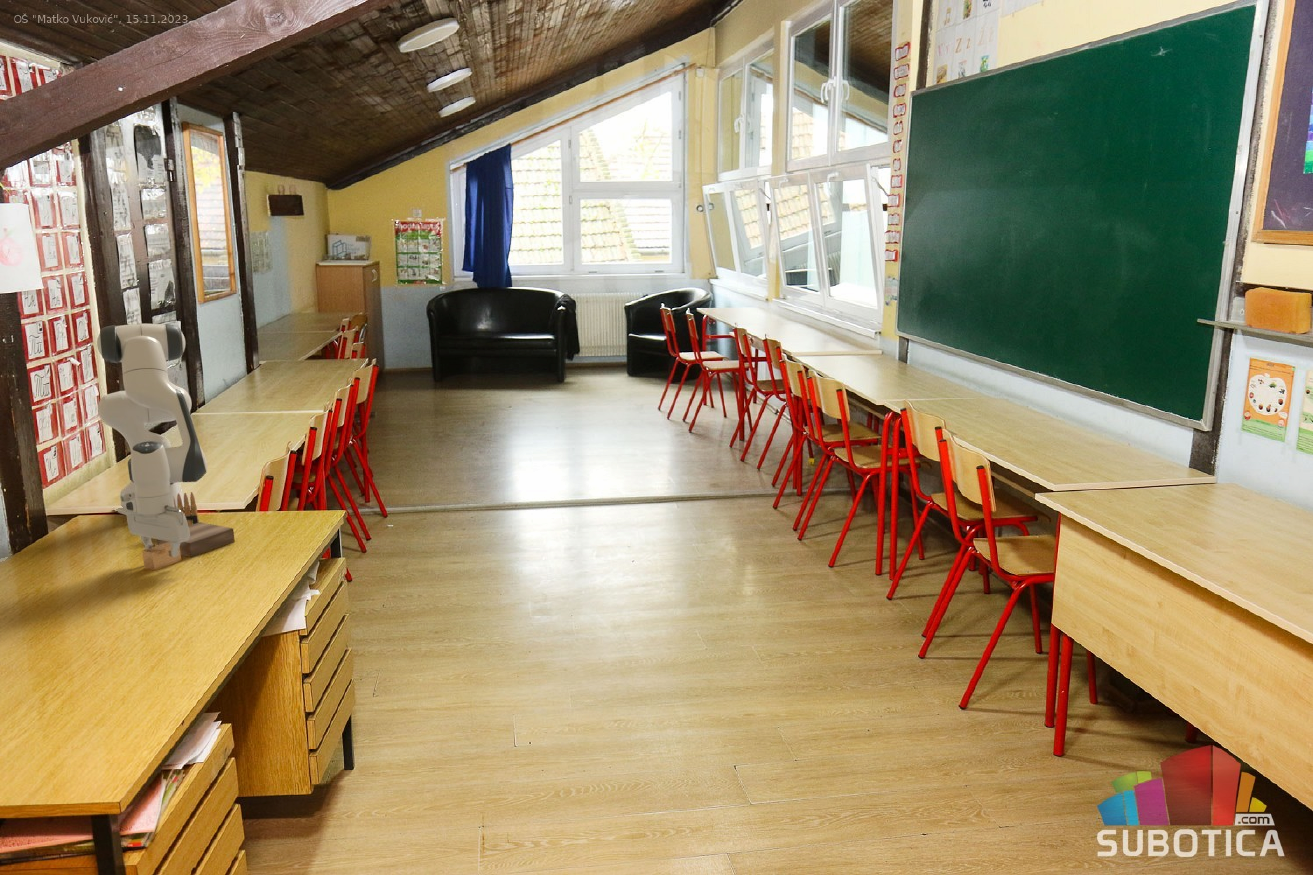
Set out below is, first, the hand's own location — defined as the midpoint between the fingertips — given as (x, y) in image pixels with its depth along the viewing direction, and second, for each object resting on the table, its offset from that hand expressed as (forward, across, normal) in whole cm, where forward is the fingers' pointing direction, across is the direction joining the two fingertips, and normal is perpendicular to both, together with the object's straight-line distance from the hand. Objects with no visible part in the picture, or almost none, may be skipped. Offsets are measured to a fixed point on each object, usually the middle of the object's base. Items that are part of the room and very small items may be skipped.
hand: (162, 553), depth 256 cm
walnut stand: (+3, +5, -14) cm, 15 cm away
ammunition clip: (+3, +20, -20) cm, 29 cm away
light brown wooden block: (+3, 0, 0) cm, 3 cm away
